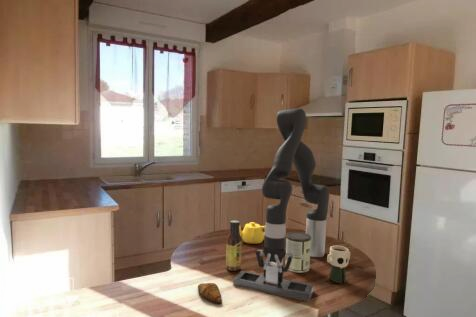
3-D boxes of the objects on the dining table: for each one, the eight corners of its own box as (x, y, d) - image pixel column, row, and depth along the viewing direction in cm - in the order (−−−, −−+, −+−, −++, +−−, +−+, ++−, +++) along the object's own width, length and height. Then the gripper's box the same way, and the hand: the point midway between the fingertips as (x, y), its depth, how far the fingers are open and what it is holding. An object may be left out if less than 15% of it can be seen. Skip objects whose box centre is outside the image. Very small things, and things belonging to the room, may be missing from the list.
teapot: (234, 241, 174) (234, 222, 173) (250, 235, 184) (250, 217, 184) (255, 247, 165) (255, 228, 164) (270, 241, 176) (271, 222, 175)
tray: (241, 276, 131) (241, 270, 131) (313, 291, 121) (313, 285, 121) (233, 285, 124) (233, 278, 124) (309, 301, 113) (309, 294, 113)
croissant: (228, 302, 112) (229, 288, 111) (211, 308, 108) (212, 293, 107) (207, 286, 123) (207, 273, 122) (191, 291, 119) (191, 278, 118)
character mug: (332, 286, 125) (334, 253, 124) (320, 279, 132) (322, 246, 131) (354, 282, 130) (356, 250, 129) (342, 275, 136) (344, 244, 135)
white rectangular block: (268, 279, 125) (269, 261, 125) (280, 281, 124) (281, 263, 123) (265, 284, 121) (266, 265, 120) (277, 286, 119) (278, 267, 119)
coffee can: (287, 261, 149) (288, 230, 148) (310, 265, 145) (312, 233, 144) (282, 270, 139) (284, 237, 138) (307, 274, 136) (309, 240, 135)
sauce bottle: (239, 272, 135) (240, 224, 134) (224, 270, 137) (225, 222, 135) (242, 266, 142) (243, 220, 140) (227, 264, 143) (229, 218, 141)
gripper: (296, 234, 122) (294, 279, 123) (259, 228, 127) (257, 272, 128) (292, 240, 115) (289, 288, 116) (253, 234, 120) (251, 280, 121)
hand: (273, 279), depth 122 cm, fingers closed on white rectangular block, 4 cm apart
